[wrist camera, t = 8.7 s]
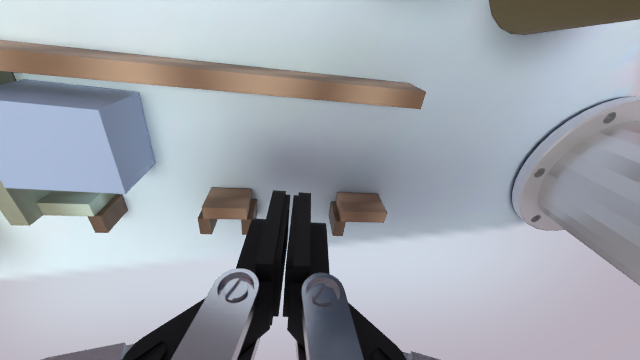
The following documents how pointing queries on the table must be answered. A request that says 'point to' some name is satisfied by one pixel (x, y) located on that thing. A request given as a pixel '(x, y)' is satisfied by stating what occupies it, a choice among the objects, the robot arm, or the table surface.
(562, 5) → the cork
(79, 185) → the block
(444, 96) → the table surface
